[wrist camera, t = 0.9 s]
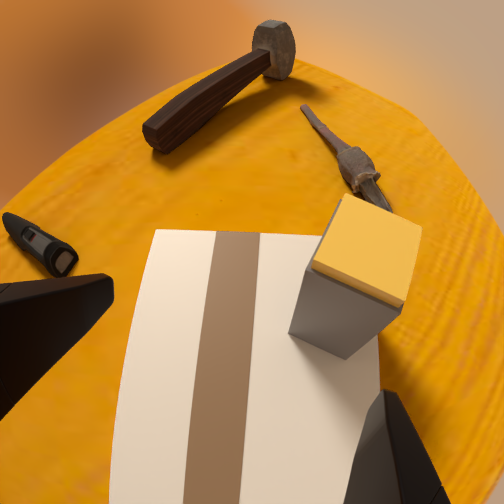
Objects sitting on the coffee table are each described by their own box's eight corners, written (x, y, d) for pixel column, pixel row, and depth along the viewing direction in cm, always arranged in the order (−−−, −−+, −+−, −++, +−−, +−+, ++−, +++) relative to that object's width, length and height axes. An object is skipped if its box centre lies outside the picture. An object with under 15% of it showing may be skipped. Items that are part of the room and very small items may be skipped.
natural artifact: (376, 235, 30) (366, 221, 27) (301, 112, 41) (287, 95, 38) (406, 217, 28) (400, 201, 25) (322, 98, 39) (309, 80, 36)
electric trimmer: (22, 216, 32) (11, 201, 29) (82, 256, 28) (68, 239, 25) (7, 237, 30) (-6, 223, 28) (62, 284, 26) (46, 269, 24)
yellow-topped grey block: (345, 360, 21) (407, 306, 12) (287, 333, 22) (307, 260, 13) (367, 306, 23) (426, 226, 14) (314, 281, 25) (343, 189, 15)
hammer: (178, 177, 38) (296, 73, 47) (148, 113, 28) (294, 20, 37) (155, 165, 40) (273, 67, 49) (125, 106, 30) (269, 16, 38)
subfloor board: (365, 537, 13) (368, 540, 13) (113, 514, 15) (108, 517, 14) (364, 243, 27) (366, 238, 27) (158, 234, 29) (156, 229, 28)
